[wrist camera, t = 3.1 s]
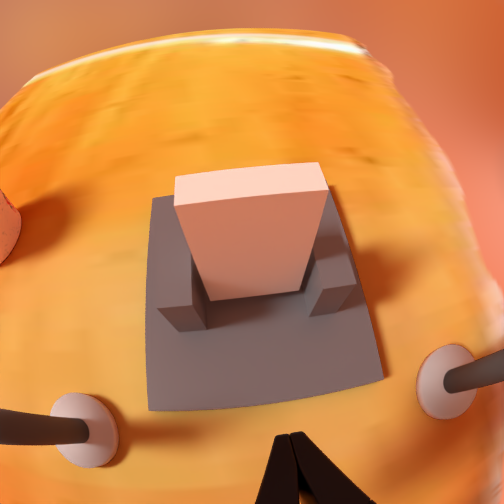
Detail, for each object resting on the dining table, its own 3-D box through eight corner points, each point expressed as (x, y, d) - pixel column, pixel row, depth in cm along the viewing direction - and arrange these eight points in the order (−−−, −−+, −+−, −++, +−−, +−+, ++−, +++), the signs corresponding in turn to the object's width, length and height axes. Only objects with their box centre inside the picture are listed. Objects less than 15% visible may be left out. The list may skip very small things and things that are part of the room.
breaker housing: (378, 380, 18) (419, 367, 13) (153, 410, 17) (115, 409, 12) (323, 186, 27) (335, 137, 22) (155, 205, 26) (136, 158, 21)
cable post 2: (479, 395, 16) (566, 368, 8) (428, 433, 16) (522, 428, 7) (457, 335, 19) (538, 285, 11) (405, 367, 18) (492, 328, 10)
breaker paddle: (299, 290, 20) (328, 189, 11) (210, 301, 19) (173, 205, 11) (294, 269, 20) (318, 162, 12) (209, 279, 20) (175, 176, 12)
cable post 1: (128, 465, 15) (42, 488, 6) (66, 465, 14) (-25, 471, 6) (109, 390, 18) (18, 364, 9) (51, 396, 17) (-40, 371, 9)
